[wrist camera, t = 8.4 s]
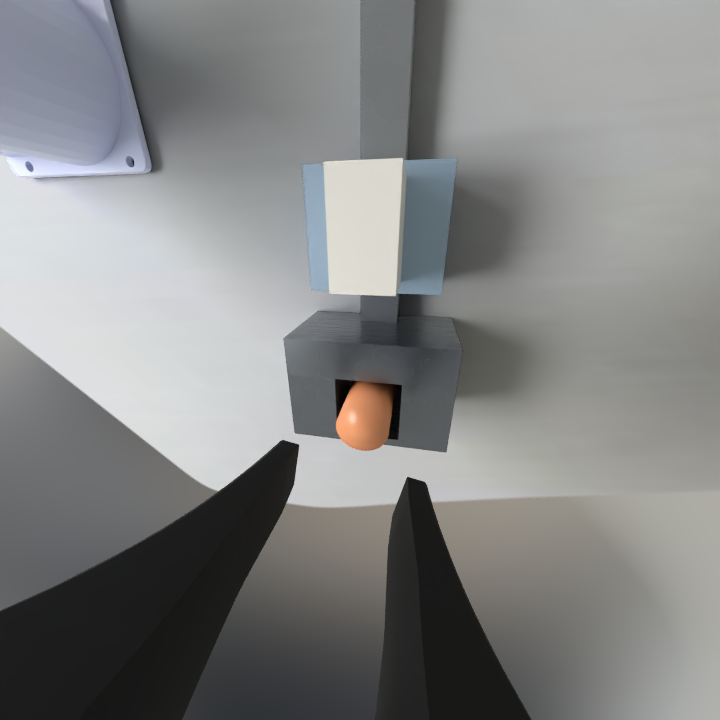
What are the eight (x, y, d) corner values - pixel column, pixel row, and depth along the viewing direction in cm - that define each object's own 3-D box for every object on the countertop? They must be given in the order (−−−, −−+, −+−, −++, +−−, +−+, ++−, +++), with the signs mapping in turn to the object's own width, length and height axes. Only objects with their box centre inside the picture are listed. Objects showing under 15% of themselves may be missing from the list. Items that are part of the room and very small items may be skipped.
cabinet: (322, 387, 20) (294, 433, 16) (317, 311, 18) (283, 338, 13) (441, 399, 19) (448, 452, 14) (452, 317, 16) (465, 350, 12)
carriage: (329, 279, 16) (284, 305, 11) (325, 177, 14) (266, 144, 9) (437, 283, 15) (447, 312, 10) (449, 173, 13) (470, 132, 8)
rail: (365, 321, 17) (360, 329, 16) (368, -201, 10) (360, -269, 8) (397, 323, 17) (396, 331, 16) (428, -216, 9) (430, -290, 8)
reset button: (354, 401, 17) (336, 446, 13) (353, 364, 16) (334, 403, 12) (394, 405, 17) (387, 453, 13) (396, 368, 16) (389, 409, 12)
